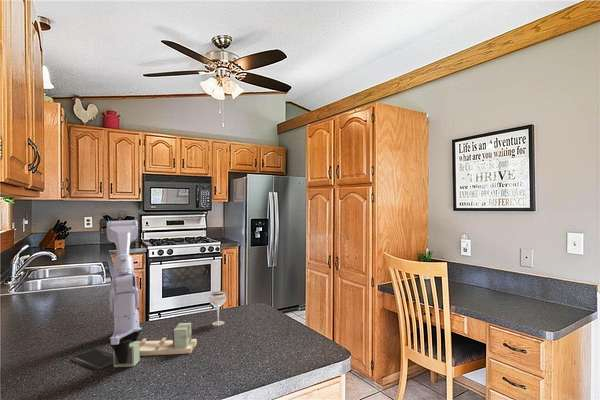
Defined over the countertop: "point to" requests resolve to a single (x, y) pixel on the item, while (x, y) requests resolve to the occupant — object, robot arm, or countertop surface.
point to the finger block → (129, 355)
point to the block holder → (170, 343)
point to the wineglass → (217, 303)
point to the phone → (95, 359)
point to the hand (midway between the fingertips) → (126, 358)
